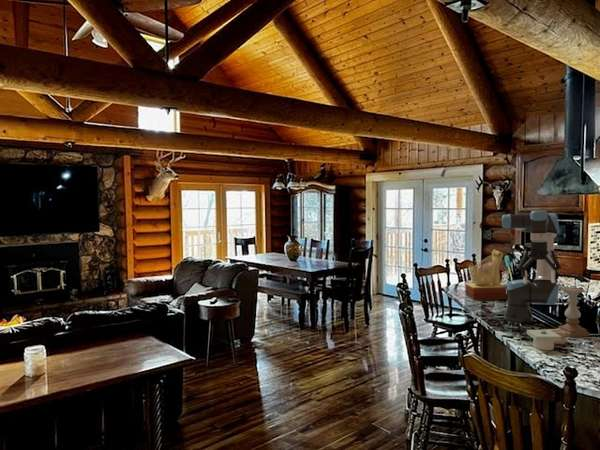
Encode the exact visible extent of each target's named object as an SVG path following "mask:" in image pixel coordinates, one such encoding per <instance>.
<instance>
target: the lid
mask: <svg viewBox="0 0 600 450" xmlns="http://www.w3.org/2000/svg"><path fill="white" fill-rule="evenodd" d="M526 335H528V336H529V337H530V338H532V340H533V339H535V340H536V341H561V336H559V335H558V334H556V333H554V332H553V331H551V330H547V329H526Z"/></svg>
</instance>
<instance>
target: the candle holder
mask: <svg viewBox="0 0 600 450" xmlns="http://www.w3.org/2000/svg"><path fill="white" fill-rule="evenodd" d="M560 290H561V291H563V292H564V293H565V292H566V294H567V295H568V299H567V300H566V302H567V303H568V307H567V308H566V309H565V311H564V316H565V317H566V319H565V323H564V325H558V327H557V328H556V329H560V330H562V331H564V332H566V337H568V338H587V337H590V335H591V334H590V332H588V329H587V328H584V327H582V326H581V325H580V320H579V318H581V315H582V314H581V312H580V310H579V309H578V307H577V305H578V303H579V300H578V298H577V297H578V295H579V294H580V293H584V292H585V289H583V288H580V287H572V286H566V287H561V289H560Z"/></svg>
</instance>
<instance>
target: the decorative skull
mask: <svg viewBox="0 0 600 450" xmlns="http://www.w3.org/2000/svg"><path fill="white" fill-rule="evenodd" d="M489 263H490V264H491V263H492V262H489ZM489 263H488V262H487V263H484V264H488V265H485V266H484V264H483V263H482V264H483V265H482V264H481V265H482V266H484V267H486V268H487V273H489V272H488V269H489V265H490V264H489ZM482 266H481V268H480V270H482V268H483V267H482ZM487 266H488V267H487ZM490 268H491V269H492V267H490ZM500 268H501V267H499V274H500V284H501V283H502V280H503V273H502V270H501V269H500ZM491 269H490V270H491ZM483 270H484V268H483ZM483 270H482V271H483ZM490 270H489V271H490ZM480 272H481V271H480ZM485 273H486V270H485ZM486 275H487V274H486ZM488 275H489V274H488ZM491 276H492V275H491Z"/></svg>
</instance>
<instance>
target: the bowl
mask: <svg viewBox="0 0 600 450" xmlns="http://www.w3.org/2000/svg"><path fill="white" fill-rule="evenodd" d="M532 340H533V341H532V343H533V345H532V346H533V348H535V349H536V348H537V349H536V350H541V351H554V347H555V344H554V341H536V340H535V339H533V338H532Z"/></svg>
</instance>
